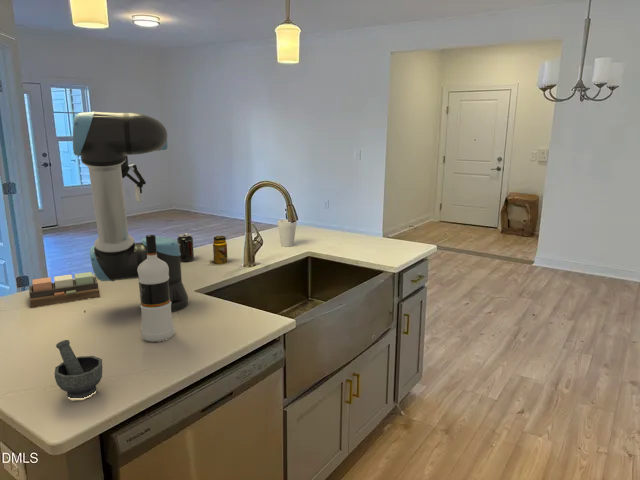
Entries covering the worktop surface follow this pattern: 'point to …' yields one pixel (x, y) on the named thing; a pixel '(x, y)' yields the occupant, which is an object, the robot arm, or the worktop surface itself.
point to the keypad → (63, 294)
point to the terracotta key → (42, 284)
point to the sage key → (84, 278)
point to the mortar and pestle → (77, 372)
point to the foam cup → (286, 232)
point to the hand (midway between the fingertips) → (122, 204)
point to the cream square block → (63, 281)
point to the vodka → (155, 296)
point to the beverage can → (186, 247)
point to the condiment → (219, 251)
